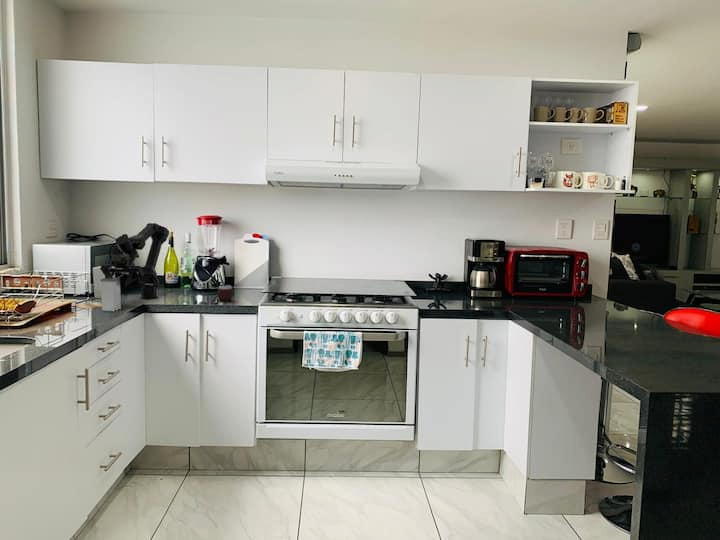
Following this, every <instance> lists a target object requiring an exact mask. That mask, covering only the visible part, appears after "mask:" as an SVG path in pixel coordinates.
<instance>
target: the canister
mask: <svg viewBox="0 0 720 540" xmlns="http://www.w3.org/2000/svg"><path fill="white" fill-rule="evenodd" d="M100 281H101V295H102V298H101V303H102V307H101V311H102V312H116V311H119V310H118V309H120V310H121V309H122V307H121V305H122V303H121V301H122V300H121V277H115V278H104V279H100ZM115 310H116V311H115Z"/></svg>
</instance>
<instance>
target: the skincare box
mask: <svg viewBox="0 0 720 540" xmlns="http://www.w3.org/2000/svg"><path fill="white" fill-rule="evenodd" d="M101 266H102V265H100V266H96V267H95V266H94V267H92V279H93V281H92V282H93V290H94V292H93V293H94V298H95V299H102V295H101V281H100V279H104V278H105V275H104V274H103V272H102V271H101V270H100V268H101ZM112 268H115V266H112ZM113 278H116V273H115V274H114V275H113Z"/></svg>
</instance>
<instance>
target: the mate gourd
mask: <svg viewBox="0 0 720 540" xmlns="http://www.w3.org/2000/svg"><path fill="white" fill-rule="evenodd" d="M214 272H215V274H217V275H218V277H219V279H220V283H221V285H219V286H218V289H217V294H218V295H217V296H218V302H219V303H228V302H232V301H233V300H232V298H233V293H234V292H233V287H232V285H231V284H224V283H223V282H224V281H223V280H222V277H221V275H220V274H219V273H218V272H217V271H216V270H214Z"/></svg>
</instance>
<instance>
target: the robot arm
mask: <svg viewBox="0 0 720 540" xmlns="http://www.w3.org/2000/svg"><path fill="white" fill-rule="evenodd" d="M169 235H170V231H169V229H168V228H167V227H165V226H162V225H160V224H158V223H154V222H153V223H152V222H150V223H149V222H148V223H146V226H144V228H143V229H142V230H140V232H138V233H137V234H135V235H132V236H128V234H126V233H123V234H122V235H120V236H119V237H117V238H116V239H115V240H114V241H115V244H116V246H117V247H118V249H119V251H120V252H121V253H123V254H117V253H116V254H115V253H112V255H111V260H110V261H111V263H112V262H113V263H114V268H112V267H113V266H112V265H111V264H101V265H100V266H101V268H100V270H101V271H102V272H103V274H104V275H105V278H113V275H114V274H115V275H116V273H120V274H128V275H127V277H126V279H125V281H124V287H127V286H128V285H130V284H132V283H133V282H135V281H136V280H137V283H138V286H139V287H141V289H140V299H145V300H151V299H158V298H159V296H157V295H158V294H157V292H158V291H157V287H159V286H160V280H159V278H158V274H157V271H156V267H157V263H158V261H159V260H158V259H159V256H160V252H161V249H162V245H163V244H164V243H165V242H167V240H168V237H169ZM150 238H151V245H150V247H149V250H148V255H147V256H146V257H147V258H146V261H145V265H144V266H141V265H135V264H134V263H135V261H136V259H140V255H139V253H138V252H139V251H142V250H143V249H144V248H145V247H146V244H147V243H146V242H147V240H149V239H150Z"/></svg>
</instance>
